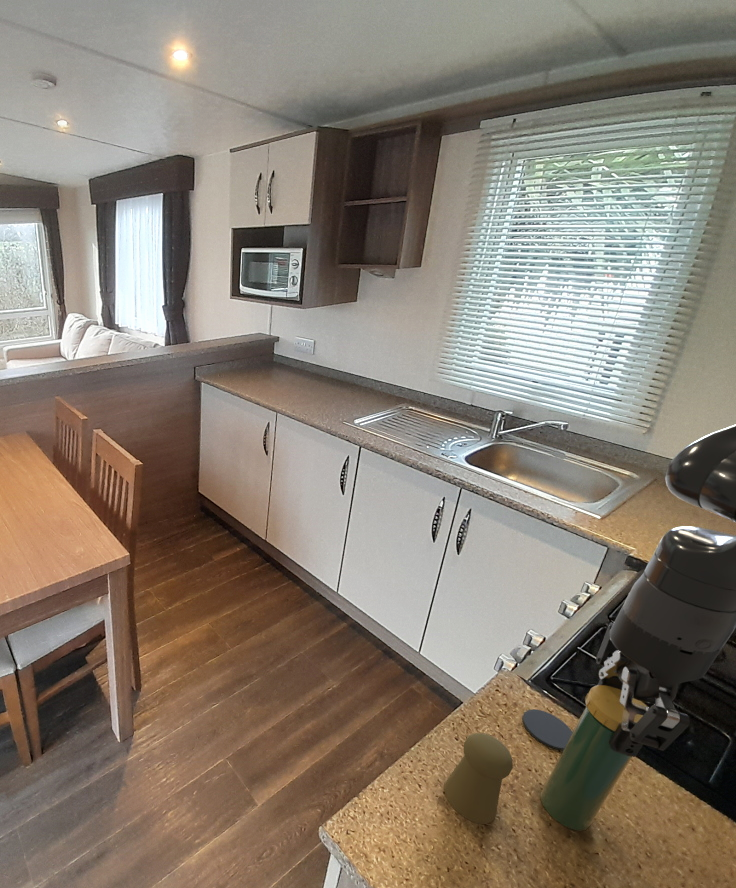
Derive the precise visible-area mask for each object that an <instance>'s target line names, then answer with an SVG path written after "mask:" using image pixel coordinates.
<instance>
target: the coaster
mask: <svg viewBox="0 0 736 888" xmlns="http://www.w3.org/2000/svg"><path fill="white" fill-rule="evenodd" d="M521 720H522V724H523V726H524V728H525V730H526V731H527V732H528V733H529V735H531V736H532V737H533V738H534V739H535V740H536V741H538V742H540V743H541V744H543V745H544V746H546V747H548V748H551V749H553V750H557V751H563V750H564V748H565V746H566V744H567V742H568V740H569V738H570V736H571V734H572V732H573V730H571V728H570V727H569V726H568V725H567V724H566V723H565V722H564V721H563V720H561V719H560V718H559V717H557V716H555V715H553V714H552V713H549V712H547V711H545V710H541V709H528V710H526V711H524V713H523V714H522V718H521Z"/></svg>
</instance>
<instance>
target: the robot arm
mask: <svg viewBox="0 0 736 888" xmlns="http://www.w3.org/2000/svg"><path fill="white" fill-rule="evenodd" d="M665 484H666V486H667V489H668V490H669V492H670V493H671V494H672V495H673V496H675V497H676V498H677V499H679V500H681V501H683V502H685V503H687V504H690V505H692V506H694V507H697V508H699V509H701V510H703V511H704V510H705V511H707V512H709V513H711V514H714V515H716V516H719V517H721V518H723V519H726V520H729V521H731V522H733V523H736V424H734V425H730V426H728V427H726V428H725V427H724V428H723V429H720V430H716V431H714V432H711V433H710V434H707V435H705V436H703V437H701V438H699V439H697V440H695V441H693V442H691V443H690V444H688V445H686V446H685V447H684V448H683V449H682V450H680V451H678V453H677V454H676V455H674V457H673V458H672V460H671V461H670V462H669V464H668V466H667V468H666V472H665ZM735 630H736V535H735V534H731V533H727V532H724V531H720V530H715V529H710V528H705V527H701V526H693V525H681V526H676V527H673V528H670V529H668V531H666V532H665V533H664V534H663V536H662V537H661V538H660V541H659V542H658V543H657V546H656V548H655V550H654V552H653V554H652V556H651V557H650V559H649V561H648V563H647V565H646V567H645V568H644V571H643V573H642V574H641V575H640V577H638V579H637V580H636V581H635V582H634V583H633V585H632V587H631V589H630V591H629V592H628V595H627V597H626V598H625V601H624V602H623V604H622V606H621V608H620V610H619V612H618V614H617V616H616V618H615V619H614V622H609V624H608V626H607V628H606V631H605V634H604V635H603V639H602V642H601V644H600V647H599V650H598V652H597V654H596V657H595V662H596V665H599V666H601V668H600V669H599V670H598V677H599V681H598V683H597V685H596V686H598V685H605V686H610V687H614V688H617V689H620V690H622V691H621V696H620V701H619V703H620V705H621V706H622V707H624V711H623V716H622V721H621V723H620V724H619V725H618V727H617V729H616V730H615V732H614V734H613V736H612V737H611V739H610V741H609V745H610V747H611V749H612V750H613V751H615V752H618V753H621V754H624V755H627V756H631V757H632V758H634V757H636V756H637V755H638V754H639V752H640V750H641V749H642V748H643V746H644V745H645V746H648V747H651V748H654V749H656V750H659V751H662V752H663V751H665V750H666V749H667V748H668V747H669V746H670V745H672V744H673V742H674V741H675V740H676V739H677V738H679V736H680V735H681V734H682V733H684V731H686V729H687V728H688V727H689V726H690V723H691V718H690V716H689V715H688V714H686V713H683V712H680V711H677V709H676V707H675V703H674V700H675V699H676V697H677V692H678V688H679V685H680V684H683V683H686V682H692V681H697V680H700V679H702V678H703V677H704V676H705V675H706V674H707V672H708V671H709V670H710V668H711V666H712V665H713V663H714V662H715V660H716V659H717V658H718V656H719V654H720V652H721V651H722V649H723V648H724V646H726V644H727V642H728V640H729V639H730V637H731V636H732V634H733V633H734V632H735ZM610 653H612V656H610V657H609V654H610ZM633 698H634V699H636V700H639V701H641V702H643V703H646V704H649V705H650V704H651V706H647V705H646V706H647V707H646V706H643V705H639V704H636V703H633V702H632V700H633ZM636 714H640V715H643V716H642V718H641V719H640V720H639V721H638V722H637V723H636V722H634V718H635V715H636Z"/></svg>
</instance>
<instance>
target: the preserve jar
mask: <svg viewBox="0 0 736 888" xmlns="http://www.w3.org/2000/svg"><path fill="white" fill-rule="evenodd" d="M614 732H615V731H613V730H611V729H609V728H608V727H606V726H605V725H603V724H602V723H601V722H599V721H598V720H597V719H596V718H595V717H594V716H593V715H592V714H591V713H590V711H589V710H588V708H587V707H586V706H585V707H584V709H583V711H582V713H581V715H580V717H579V719H578V721H577V723H576V724H575V726H574V728H573V730H572V734H571V736H570V738H569V740H568V742H567V744H566V746H565V748H564V750H561V753H560V755H559V757H558V759H557V761H556V762H555V765H554V767H553V768H552V771H551V773H550V774H549V776H548V778H547V779H546V782H545V784H544V786H543V788H542V790H541V792H540V796H539V797H540V801H541V805H542V806H543V808H544V809H545V810H546V812H547V813H548V814H549V815H550V816H551V817H552V818H553V819H554V820H555V821H556V822H558V823H559V824H561V825H562V826H564V827H567V828H568V829H571V830H574V831H579V832H581V831H586V830H588V829H589V828H590V826H591V825H592V823H593V821H594V820H595V818H596V817H597V815H598V813H599V812H600V810H601V809H602V807H603V806H604V803H605V802H606V800H607V799H608V797H609V796H610V794H611V793H612V790H613V789H614V788H615V786H616V784H617V783H618V781H619V780H620V778H621V776H622V774H623V773H624V771H625V770H626V768H627V767H628V765H629V763H630V762H631V760H632V758H633V757H631V756H627V755H624V754H621V753H618V752H615V751H613V750H612V749H611V747H610V745H609V741H610V739H611V737H612V736H613V734H614Z"/></svg>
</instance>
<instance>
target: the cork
mask: <svg viewBox="0 0 736 888" xmlns="http://www.w3.org/2000/svg"><path fill="white" fill-rule="evenodd" d="M513 766H514V763H513V757H512V755H511V752H510V750H509V749H508V747H507V746H506V745H505V744H504V743H502V741H500V739H498V738H496V737H494V736H493V735H491V734H488V733H484V732H474V733H472V734H470V735H468V736H467V737H466V739H465V740H464V743H463V757H462V758H461V760H460V761H459V762H458V763H457V765H456V766H455V768H454V769H453V771H452V772H451V773H450V775H449V776H448V778H447V779H446V781H445V782H444V785H443V786H444V787H443V791H444V795H445V798H446V800H447V802H448V803H449V805H450V806H451V807H452V808H453V809H454V810H455V812H456V813H458V814H459V815H460V816H461V817H462V818H464V819H466V820H468V821H470V822H472V823H475V824H480V825H487V824H488V825H489V824H491V823H492V822H493V821H494V820H495V818H496V817H497V811H498V805H499V798H500V794H501V788H502V782H503V780H504V779H506V778H507V777H509V776H510V774H511V772H512V770H513V768H514V767H513Z"/></svg>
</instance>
